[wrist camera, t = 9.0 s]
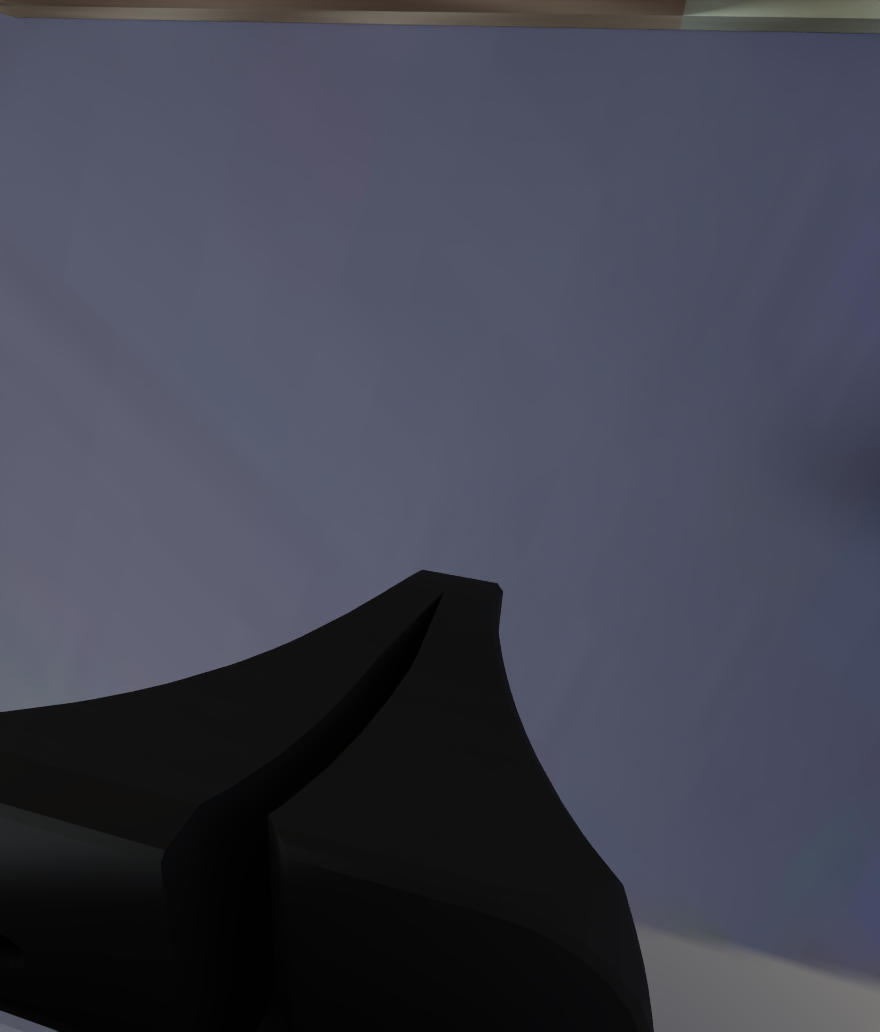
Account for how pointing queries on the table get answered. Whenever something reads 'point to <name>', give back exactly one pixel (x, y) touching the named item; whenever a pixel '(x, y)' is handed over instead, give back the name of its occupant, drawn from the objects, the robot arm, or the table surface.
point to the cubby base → (488, 13)
